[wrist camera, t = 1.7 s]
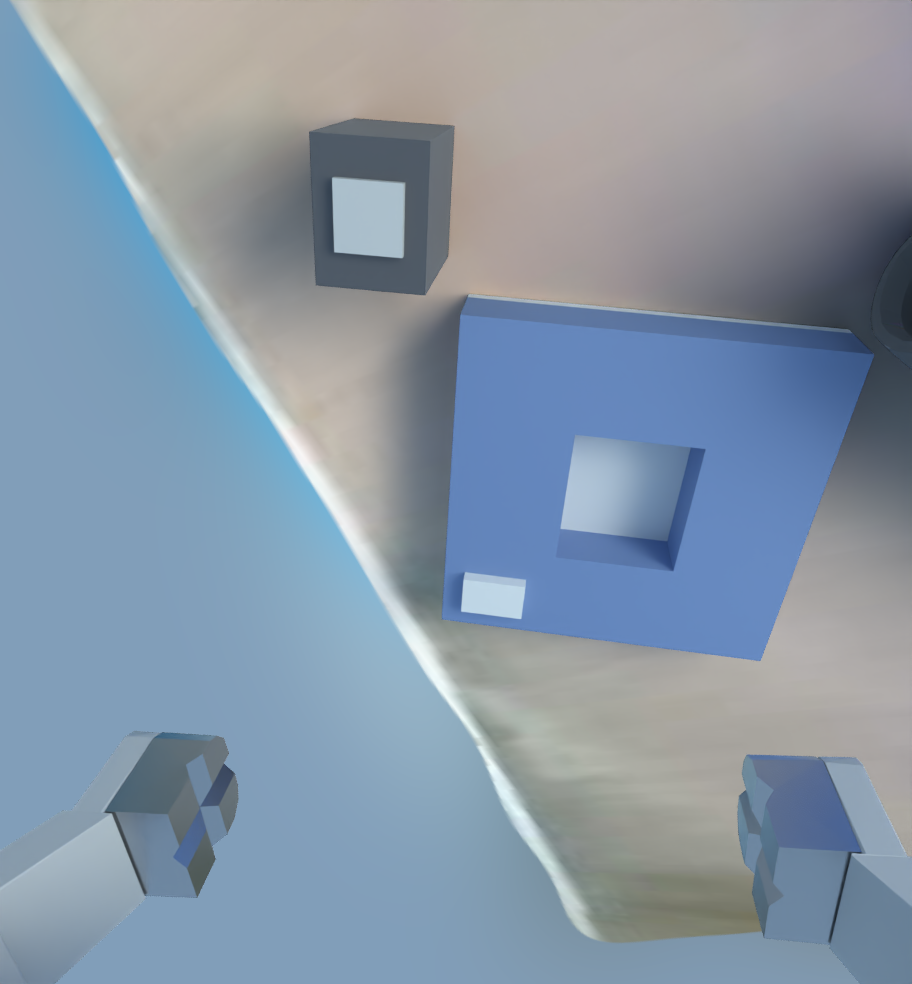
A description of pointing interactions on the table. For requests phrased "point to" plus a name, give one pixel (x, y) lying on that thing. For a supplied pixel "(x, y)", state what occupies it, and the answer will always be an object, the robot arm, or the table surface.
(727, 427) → the socket
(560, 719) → the table surface
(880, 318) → the bluetooth speaker
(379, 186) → the plug
